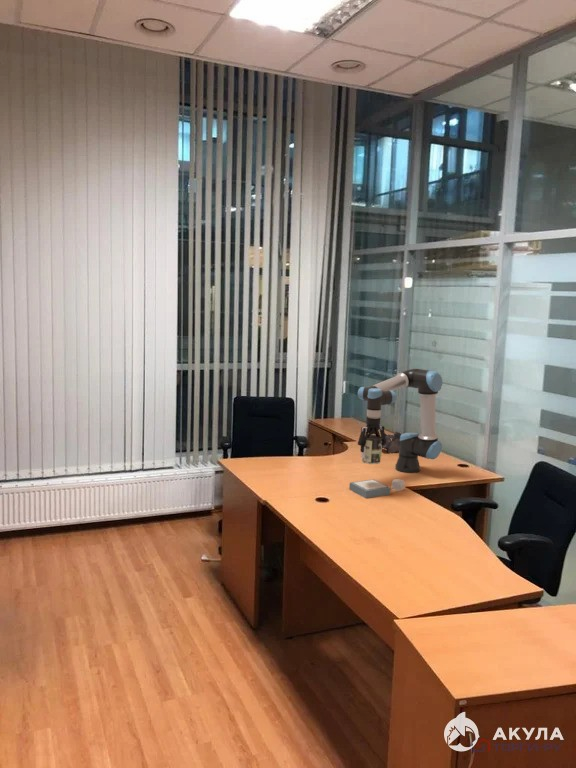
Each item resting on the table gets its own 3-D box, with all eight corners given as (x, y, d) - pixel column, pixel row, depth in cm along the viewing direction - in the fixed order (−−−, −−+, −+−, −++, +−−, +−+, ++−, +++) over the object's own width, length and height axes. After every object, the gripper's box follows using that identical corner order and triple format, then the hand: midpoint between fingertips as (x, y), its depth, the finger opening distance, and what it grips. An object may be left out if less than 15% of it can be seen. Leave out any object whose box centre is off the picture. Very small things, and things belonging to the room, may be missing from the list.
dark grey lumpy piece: (381, 453, 424) (410, 455, 427) (383, 432, 423) (411, 433, 426) (376, 450, 438) (403, 451, 440) (377, 429, 437) (405, 431, 440)
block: (396, 487, 355) (396, 478, 354) (404, 489, 352) (404, 480, 351) (391, 489, 351) (392, 480, 351) (399, 491, 348) (399, 482, 347)
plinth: (372, 486, 356) (373, 478, 355) (390, 494, 342) (390, 487, 341) (349, 489, 348) (349, 482, 347) (365, 498, 334) (366, 490, 334)
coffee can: (381, 460, 346) (382, 435, 344) (379, 465, 336) (381, 439, 334) (362, 458, 348) (363, 433, 346) (360, 463, 338) (362, 438, 336)
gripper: (386, 414, 347) (383, 453, 351) (352, 417, 337) (350, 457, 340) (394, 417, 341) (392, 456, 344) (360, 419, 330) (357, 460, 333)
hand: (371, 456), depth 342 cm, fingers closed on coffee can, 10 cm apart
